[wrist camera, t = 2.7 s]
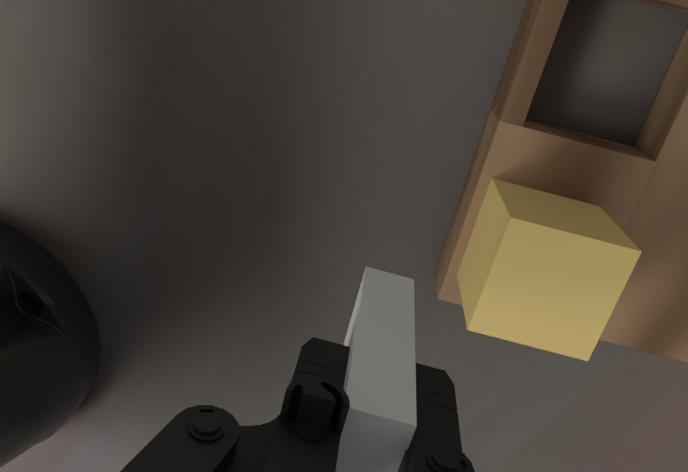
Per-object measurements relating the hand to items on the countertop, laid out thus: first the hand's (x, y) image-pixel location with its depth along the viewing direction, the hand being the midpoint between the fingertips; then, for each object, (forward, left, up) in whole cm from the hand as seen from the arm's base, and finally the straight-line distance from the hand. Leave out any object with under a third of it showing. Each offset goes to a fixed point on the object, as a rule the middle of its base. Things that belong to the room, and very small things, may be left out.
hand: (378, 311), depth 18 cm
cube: (+7, 0, -10) cm, 12 cm away
